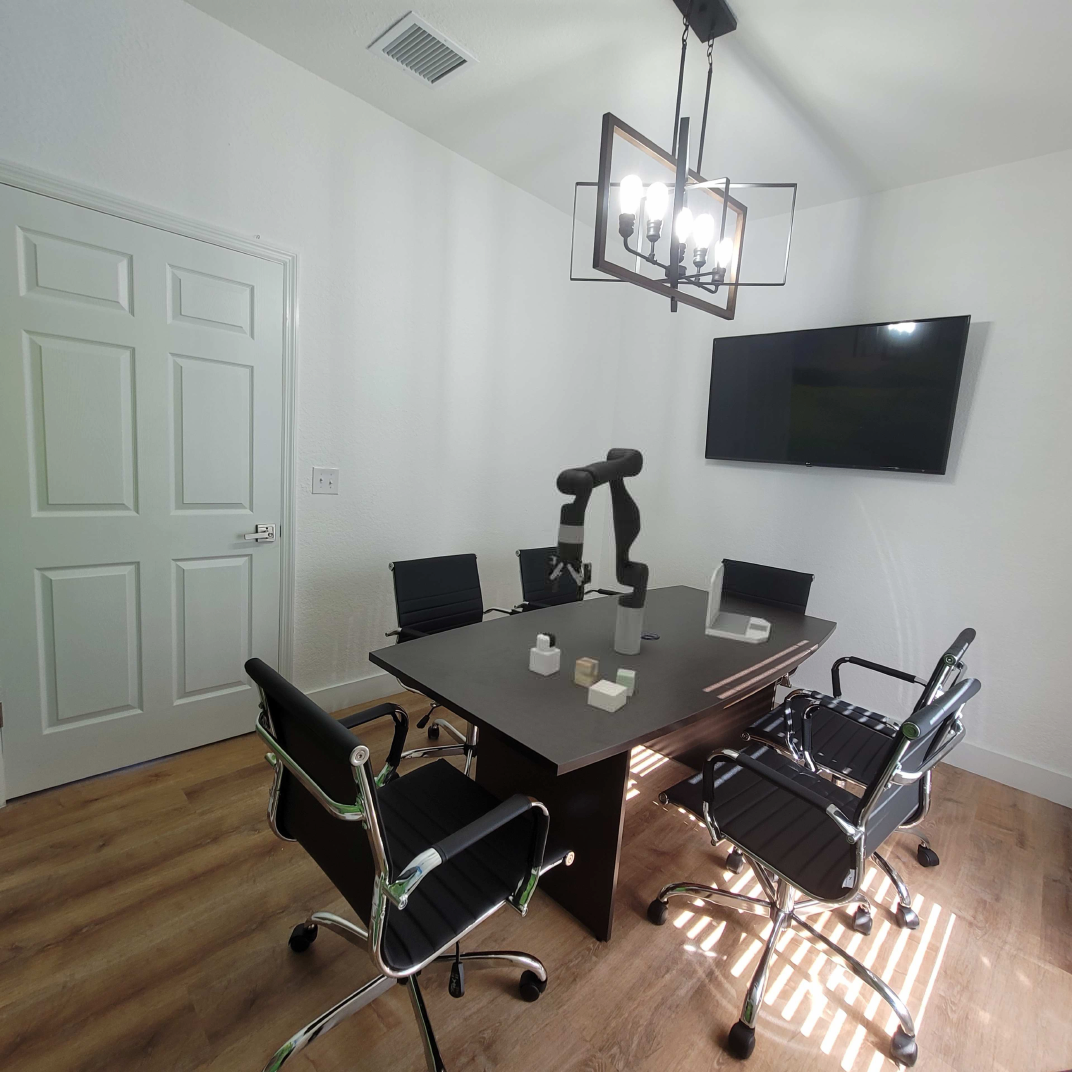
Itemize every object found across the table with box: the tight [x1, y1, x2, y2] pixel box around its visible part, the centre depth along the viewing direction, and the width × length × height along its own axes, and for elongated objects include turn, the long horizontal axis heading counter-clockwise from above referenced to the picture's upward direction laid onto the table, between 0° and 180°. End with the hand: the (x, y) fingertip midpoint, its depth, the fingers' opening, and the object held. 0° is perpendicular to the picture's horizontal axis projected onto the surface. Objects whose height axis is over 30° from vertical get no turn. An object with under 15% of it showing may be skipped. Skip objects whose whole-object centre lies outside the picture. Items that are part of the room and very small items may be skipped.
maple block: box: [573, 656, 599, 689], centre depth 169 cm, size 5×5×7 cm
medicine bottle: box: [528, 632, 561, 677], centre depth 176 cm, size 7×7×12 cm
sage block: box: [615, 668, 636, 697], centre depth 164 cm, size 5×5×6 cm
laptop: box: [704, 562, 771, 644], centre depth 235 cm, size 33×24×26 cm
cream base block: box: [587, 679, 627, 713], centre depth 156 cm, size 8×8×5 cm
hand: (566, 594), depth 160 cm, fingers open, 8 cm apart
